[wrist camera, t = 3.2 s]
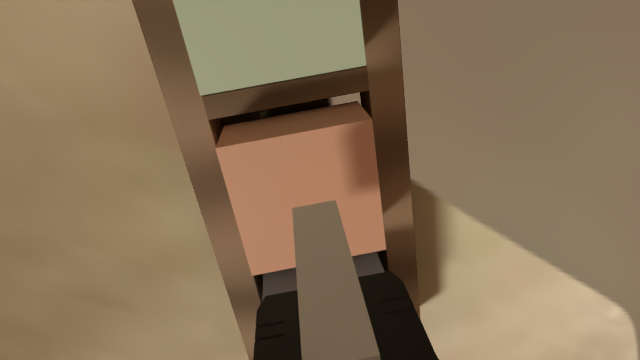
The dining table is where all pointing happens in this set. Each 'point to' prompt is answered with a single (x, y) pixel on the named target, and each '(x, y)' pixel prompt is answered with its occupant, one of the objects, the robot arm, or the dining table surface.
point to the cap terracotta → (301, 179)
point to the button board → (204, 111)
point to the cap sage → (268, 40)
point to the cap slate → (288, 279)
